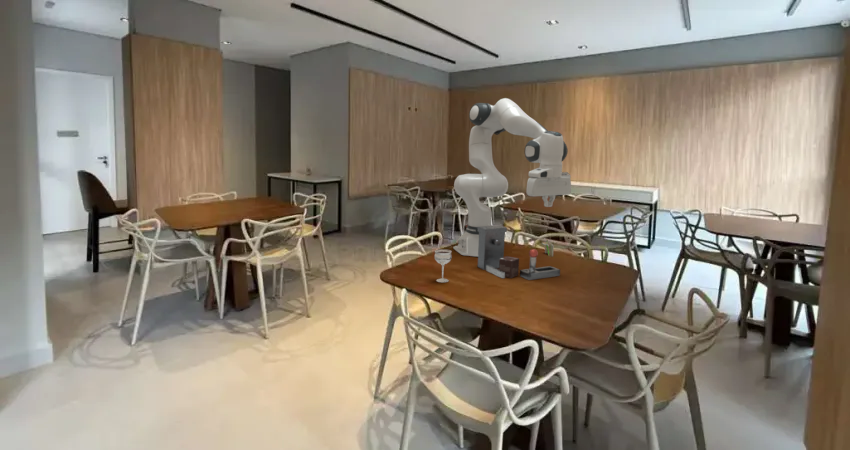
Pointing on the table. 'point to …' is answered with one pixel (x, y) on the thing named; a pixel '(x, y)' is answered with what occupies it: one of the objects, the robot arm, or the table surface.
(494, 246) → the grey coffee machine
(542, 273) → the lever rail
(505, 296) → the table surface
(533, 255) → the lever
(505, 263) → the box
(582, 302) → the table surface
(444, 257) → the wineglass
